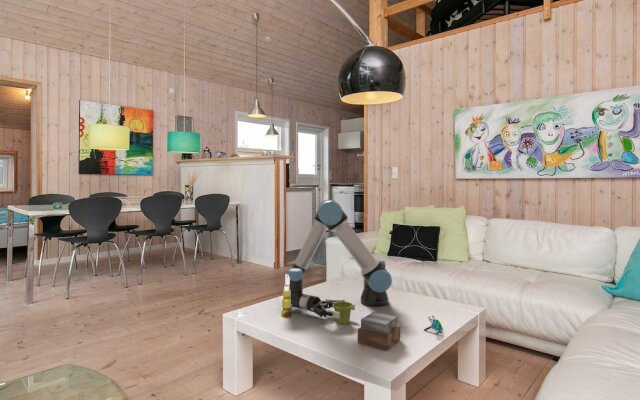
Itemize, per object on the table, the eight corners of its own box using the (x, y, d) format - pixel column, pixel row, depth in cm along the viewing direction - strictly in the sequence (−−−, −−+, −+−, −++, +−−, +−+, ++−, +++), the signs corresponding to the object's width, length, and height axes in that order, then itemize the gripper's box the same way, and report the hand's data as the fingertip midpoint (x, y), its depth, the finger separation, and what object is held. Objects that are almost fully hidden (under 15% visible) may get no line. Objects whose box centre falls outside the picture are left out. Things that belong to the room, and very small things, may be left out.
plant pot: (339, 327, 181) (339, 309, 180) (329, 321, 189) (329, 303, 189) (356, 324, 185) (356, 305, 185) (346, 317, 193) (346, 300, 193)
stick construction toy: (440, 332, 169) (430, 314, 173) (426, 339, 172) (417, 322, 175) (447, 331, 179) (438, 314, 183) (434, 337, 181) (425, 321, 185)
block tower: (372, 333, 174) (372, 310, 174) (400, 340, 167) (400, 316, 166) (357, 343, 164) (357, 319, 163) (386, 351, 156) (386, 326, 156)
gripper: (325, 304, 208) (360, 311, 196) (294, 317, 188) (332, 327, 175) (324, 289, 207) (360, 296, 195) (294, 302, 187) (332, 310, 175)
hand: (347, 311), depth 185 cm, fingers open, 13 cm apart
